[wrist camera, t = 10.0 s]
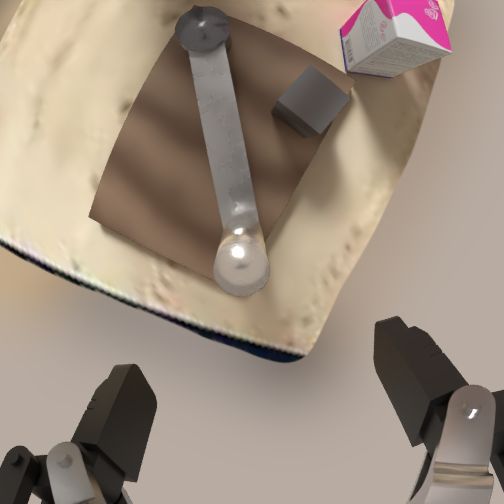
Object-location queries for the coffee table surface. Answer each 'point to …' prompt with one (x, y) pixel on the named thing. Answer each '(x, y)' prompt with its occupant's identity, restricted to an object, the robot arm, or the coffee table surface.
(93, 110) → the coffee table surface
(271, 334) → the coffee table surface
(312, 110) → the brown board
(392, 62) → the supplement box
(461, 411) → the robot arm
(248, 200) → the lever
